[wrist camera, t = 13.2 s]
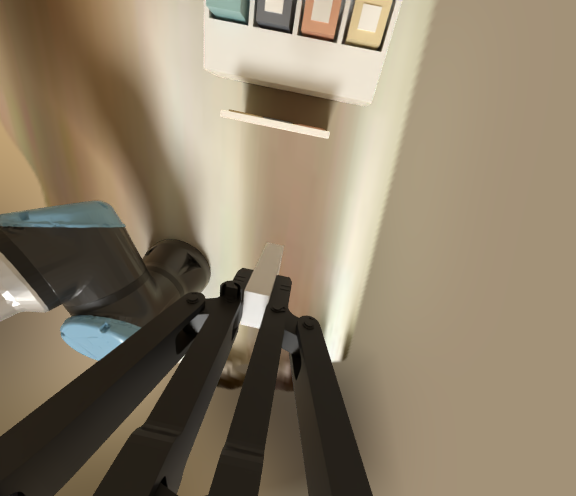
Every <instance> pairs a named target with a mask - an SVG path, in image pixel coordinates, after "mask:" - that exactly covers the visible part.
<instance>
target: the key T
mask: <svg viewBox="0 0 576 496" xmlns="http://www.w3.org/2000/svg"><path fill="white" fill-rule="evenodd" d="M392 1H393V0H355V2H354V6H353V9H352V14H351V18H350V22H349V27H348V31H347V36H346V40H345V44H344V45H348V46H354V47H359V48H364V49H369V50H374V51H376V50H377V48H378V47H379V45H380V43H381V40H382V36H383V33H384V29H385V26H386V22H387V19H388V15H389V12H390V8H391V5H392Z"/></svg>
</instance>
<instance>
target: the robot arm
mask: <svg viewBox="0 0 576 496" xmlns="http://www.w3.org/2000/svg"><path fill="white" fill-rule="evenodd" d="M125 227H126V226H125V224H123V223H122V222H121V220H120V219H119V217H118V215H117V214H116V212H115V211H114V209H113V208H112V206H111V205H109V204H108V203H106V202H103V201H87V202H80V203H73V204H66V205H59V206H52V207H45V208H38V209H32V210H26V211H20V212H13V213H6V214H0V321H2V320H4V319H6V318H8V317H10V316H12V315H14V314H16V313H18V312H24V311H33V312H47V311H50V310H52V309H53V308H55V307H57V306H59V305H61V304H63V306H64V307H65V308H66V309H67V311H68V312H69V313H70V315H71V317H70V318H68V319H66V320H65V322H64V323H63V325H62V326H61V329H60V331H61V337H62V338H63V340H64V341H65V342H66V343H67V344H68V345H69V346H70V347H72V348H73V349H74V350H76V351H78V352H79V353H81V354H83V355H85V356H87V357H89V358H92V359H95V360H98V362H96V363H95V364H94V365H93V366H91V367H90V368H89V369H87V370H86V371H85V372H84V373H82V374H81V375H80V376H78V377H77V378H76V379H74V380H73V381H72V382H71V383H69V384H68V385H67V386H65V387H64V388H63V389H61V390H60V391H59V392H58V393H56V394H55V395H54V396H53V397H51V398H50V399H48V400H47V401H46V402H45V403H44V404H42V405H41V406H39V407H38V408H37V409H36V410H34V411H33V412H32V413H30V414H29V415H28V416H26V417H25V418H24V419H23V420H21V421H20V422H19V423H17V424H16V425H15V426H13V427H12V428H11V429H10V430H8V431H7V432H6V433H4V434H3V435H2V436H0V496H54V495H55V494H56V493H57V492H58V491H59V490H60V489H61V488H62V487H63V486H64V485H65V484H66V483H67V482H68V481H69V480H70V478H72V477H73V476H74V474H75V473H76V472H77V471H78V470H79V469H80V468H81V467H82V466H83V465H84V464H85V463H86V461H87V460H88V459H89V458H90V457H91V456H92V455H93V454H94V453H95V452H96V451H97V450H98V448H99V447H100V446H101V445H102V444H103V443H104V442H105V441H106V440H107V438H109V436H110V435H111V434H112V433H113V432H114V431H115V430H116V429H117V428H118V427H119V425H120V424H121V423H122V422H123V421H124V420H125V419H126V418H127V417H128V416H129V415H130V414H131V413H132V411H133V410H134V409H135V408H136V407H137V406H138V405H139V404H140V403H141V402H142V401H143V399H144V398H145V397H146V396H147V395H148V394H149V393H150V392H151V391H152V390H153V389H154V388H155V387H156V385H157V384H158V383H159V382H160V381H161V380H162V379H163V378H164V377H165V376H166V374H168V372H169V371H170V370H171V369H172V368H173V367H174V366H175V365H176V364H177V363H178V362H179V360H180V359H181V358H182V357H183V356H184V355H185V356H184V358H183V359H182V361H181V363H180V364H179V366H178V368H177V369H176V371H175V373H174V375H173V376H172V378H171V380H170V381H169V383H168V385H167V386H166V388H165V390H164V392H163V393H162V395H161V397H160V398H159V400H158V402H157V403H156V405H155V407H154V409H153V410H152V412H151V414H150V415H149V417H148V419H147V420H146V422H145V423H144V424H143V425H142V426H141V427H139V428H137V429H136V430H135V431H134V432H133V433H132V434H131V435H130V437H129V438H128V440H127V441H126V443H125V444H124V446H123V447H122V449H121V451H120V452H119V454H118V456H117V457H116V459H115V460H114V462H113V464H112V465H111V467H110V469H109V470H108V472H107V473H106V475H105V477H104V478H103V480H102V481H101V483H100V485H99V487H98V488H97V490H96V491H95V493H94V494H93V496H178V495H176V494H177V492H178V489H179V486H180V483H181V479H182V475H183V471H184V468H185V465H186V462H187V459H188V457H189V454H190V452H191V449H192V447H193V444H194V441H195V439H196V436H197V434H198V431H199V429H200V426H201V424H202V421H203V419H204V416H205V413H206V411H207V409H208V406H209V403H210V401H211V398H212V396H213V393H214V391H215V388H216V386H217V383H218V381H219V378H220V376H221V373H222V370H223V368H224V365H225V363H226V360H227V358H228V355H229V353H230V350H231V348H232V345H233V343H234V340H235V338H236V335H237V332H238V327H239V323H240V321H241V325H246V326H251V327H255V328H260V329H259V332H258V335H257V339H256V342H255V345H254V349H253V352H252V356H251V359H250V362H249V366H248V369H247V372H246V376H245V379H244V382H243V386H242V389H241V393H240V396H239V399H238V403H237V406H236V409H235V413H234V416H233V420H232V423H231V426H230V430H229V433H228V437H227V440H226V443H225V445H224V447H223V449H222V452H221V455H220V458H219V461H218V464H217V468H216V471H215V475H214V478H213V481H212V484H211V488H210V491H209V494H208V495H207V496H258V492H259V486H260V480H261V474H262V467H263V460H264V450H265V443H266V437H267V432H268V426H269V419H270V414H271V407H272V402H273V395H274V390H275V384H276V378H277V372H278V366H279V360H280V354H281V348H283V349H284V350H286V351H288V352H289V357H290V364H291V372H292V379H293V386H294V393H295V400H296V408H297V415H298V422H299V429H300V437H301V444H302V451H303V458H304V465H305V472H306V479H307V487H308V494H309V496H373V495H372V492H371V488H370V485H369V482H368V479H367V476H366V472H365V469H364V466H363V462H362V459H361V456H360V453H359V450H358V446H357V443H356V440H355V437H354V433H353V430H352V427H351V424H350V421H349V417H348V414H347V411H346V408H345V404H344V401H343V398H342V395H341V392H340V388H339V385H338V382H337V379H336V376H335V372H334V369H333V366H332V363H331V359H330V356H329V353H328V350H327V346H326V343H325V340H324V337H323V334H322V330H321V327H320V324H319V322H318V321H317V320H316V319H315V318H313V317H311V316H302V317H300V318H298V317H296V316H294V315H293V314H292V313H291V312H290V311H289V309H288V303H289V297H290V291H291V285H292V281H291V279H290V278H289V277H285V276H280V275H278V274H279V270H280V265H281V260H282V254H283V249H284V246H283V245H278V244H273V243H269V242H266V245H265V247H264V249H263V251H262V253H261V256H260V258H259V260H258V262H257V264H256V266H255V269H254V270H250V269H246V268H242V269H240V270H239V271H238V272H237V274H236V275H235V277H234V279H233V281H226V282H224V283H222V284H221V285H220V297H218V298H209V299H205V296H204V295H203V294H202V293H201V292H202V291H203V290H204V288H205V287H206V286H207V284H208V282H209V280H210V269H209V265H208V263H207V261H206V259H205V258H204V256H203V255H202V254H201V253H200V252H199V251H198V250H197V249H195V248H194V247H193V246H191V245H189V244H187V243H185V242H182V241H179V240H164V241H161V242H159V243H157V244H155V245H154V246H153V247H151V248H150V249H149V250H148V251H147V252H146V254H145V256H144V257H143V259H142V258H141V256H140V254H139V253H138V251H137V249H136V247H135V245H134V243H133V242H132V240H131V238H130V236H129V234H128V232H127V230H126V228H125Z"/></svg>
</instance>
